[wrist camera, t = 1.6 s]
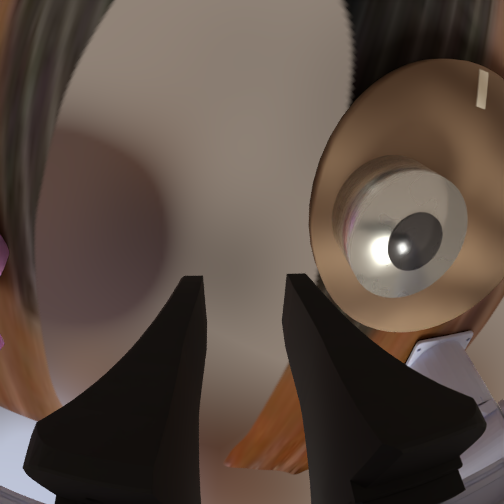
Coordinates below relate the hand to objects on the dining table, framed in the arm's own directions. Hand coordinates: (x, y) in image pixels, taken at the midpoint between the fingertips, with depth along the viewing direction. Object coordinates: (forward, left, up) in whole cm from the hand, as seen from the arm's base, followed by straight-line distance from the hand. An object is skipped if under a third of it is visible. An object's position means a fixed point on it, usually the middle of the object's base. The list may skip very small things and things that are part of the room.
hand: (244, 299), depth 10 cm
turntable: (0, -14, -8) cm, 16 cm away
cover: (0, -8, -7) cm, 11 cm away
